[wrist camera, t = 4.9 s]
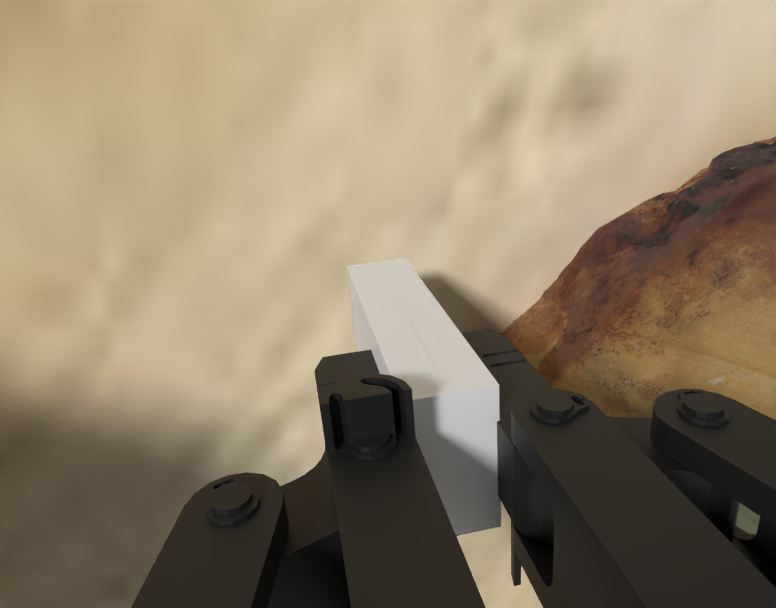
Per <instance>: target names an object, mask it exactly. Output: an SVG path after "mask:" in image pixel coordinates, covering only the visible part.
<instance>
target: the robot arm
mask: <svg viewBox="0 0 776 608" xmlns="http://www.w3.org/2000/svg"><path fill="white" fill-rule="evenodd" d="M347 274H348V283H349V292H350V300H351V309H352V317H353V326H354V334H355V343H356V351H357V352H353V353H346V354H340V355H334V356H328V357H323V358H322V359H321V361H320V363H319V364H318V366H317V368H316V369H315V378H316V384H317V391H318V398H319V404H320V411H321V418H322V424H323V431H324V438H325V452H324V454H323V456H322V459H321V460H320V461H319V462H318V464H317V465H316V466H315V467H314V468H313V469H311V470H310V471H309V472H308V473H306V474H305V475H303V476H301V477H300V478H298V479H296V480H294V481H292V482H290V483H287V484H285V485H283V486H279V484H278V483H277V481H276V480H274V479H272V478H270V477H268V476H266V475H264V474H256V473H241V474H235V475H228V476H226V477H223V478H221V479H218V480H216V481H213V482H211V483H209V484H208V485H206V486H205V487H203V488H202V489H201V490H199V491H198V492H196V493H195V494H194V495H193V496H192V498H191V499H190V500H189V501H188V503H187V504H186V505H185V506H184V508H183V510H182V512H181V514H180V516H179V518H178V519H177V521H176V523H175V525H174V527H173V529H172V531H171V533H170V535H169V537H168V538H167V540H166V542H165V544H164V546H163V548H162V550H161V552H160V554H159V556H158V558H157V559H156V561H155V563H154V565H153V567H152V569H151V571H150V573H149V575H148V577H147V578H146V580H145V582H144V584H143V586H142V588H141V590H140V592H139V594H138V596H137V598H136V599H135V601H134V603H133V605H132V607H131V608H485V605H484V603H483V601H482V598H481V596H480V593H479V591H478V588H477V586H476V583H475V581H474V579H473V576H472V574H471V571H470V569H469V566H468V564H467V561H466V559H465V557H464V554H463V552H462V549H461V547H460V544H459V542H458V539H457V537H456V536H458V535H462V534H467V533H472V532H476V531H481V530H486V529H491V528H495V527H500V526H501V501H502V503H503V505H504V507H505V509H506V510H507V512H508V514H509V516H510V518H511V575H512V579H513V583H514V586H516V585H521V566H522V567H523V569H524V571H525V573H526V575H527V577H528V578H529V581H530V582H531V584H532V586H533V588H534V590H535V592H536V594H537V596H538V598H539V600H540V602H541V604H542V606H543V608H776V420H774V419H772V418H770V417H768V416H766V415H764V414H762V413H760V412H758V411H756V410H754V409H752V408H750V407H748V406H746V405H744V404H742V403H740V402H738V401H736V400H734V399H731V398H729V397H726V396H723V395H721V394H718V393H714V392H709V391H704V390H702V389H678V390H674V391H669V392H665V393H664V394H662V395H660V396H659V397H657V398H656V400H655V403H654V406H653V412H652V418H637V417H610V416H607V415H606V414H605V413H604V412H603V411H602V410H601V409H600V408H599V407H598V406H597V405H596V404H595V403H593V402H592V401H591V400H589V399H588V398H586V397H585V396H583V395H580V394H577V393H575V392H572V391H569V390H561V389H554V388H553V387H552V386H551V385H550V384H549V383H548V382H547V381H546V380H545V379H544V377H543V376H542V375H541V374H540V373H539V372H538V371H537V370H536V369H535V368H534V366H533V365H532V364H531V363H530V362H529V361H528V362H527V359H526V358H525V356H524V355H523V354H522V353H521V352H518V349H517V348H516V346H515V345H514V344H513V343H512V342H511V341H510V340H509V339H508V338H507V337H505V336H503V335H501V334H499V333H497V332H495V331H493V330H490V329H484V330H478V331H472V332H465V333H460V331H459V330H458V328H457V327H456V326H455V324H454V323H453V322H452V320H451V319H450V318H449V316H448V315H447V314H446V312H445V311H444V310H443V308H442V307H441V305H440V304H439V303H438V301H437V300H436V299H435V297H434V296H433V295H432V293H431V292H430V291H429V289H428V288H427V287H426V285H425V284H424V283H423V281H422V280H421V278H420V277H419V276H418V274H417V273H416V272H415V270H414V269H413V268H412V266H411V265H410V264H409V262H408V261H407V260H406V258H400V259H393V260H385V261H378V262H371V263H364V264H357V265H350V266H347ZM740 503H741V504H742V505H744V506H745V507H747V508H748V509H750V510H751V511H753V512H754V513H756V514H757V515H759V516H760V520H759V524H758V529H757V533H756V535H755V534H749V533H747V532H746V531H744V530H742V529H740V528H739V527H737V526H736V522H737V517H738V511H739V506H740Z"/></svg>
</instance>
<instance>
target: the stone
mask: <svg viewBox="0 0 776 608" xmlns="http://www.w3.org/2000/svg"><path fill="white" fill-rule="evenodd" d="M501 335H503V336H505V337H507V338H508V339H509V340H510V341H511V342H512V343H513V344H514V345H515V346H516V348H517V349H518V352H521V353H522V354H523V355H524V356H525V358H526V359H527V362H528V361H529V362H530V363H531V364H532V365H533V366H534V368H535V369H536V370H537V371H538V372H539V373H540V374H541V375H542V376H543V377H544V379H545V380H546V381H547V382H548V383H549V384H550V385H551V386H552V387H553V388H554V389H561V390H569V391H572V392H575V393H577V394H580V395H583V396H585V397H586V398H588V399H589V400H591V401H592V402H593V403H595V404H596V405H597V406H598V407H599V408H600V409H601V410H602V411H603V412H604V413H605V414H606V415H607V416H610V417H637V418H652V412H653V406H654V403H655V400H656V398H657V397H659V396H660V395H662V394H664V393H665V392H669V391H674V390H678V389H702V390H704V391H709V392H714V393H718V394H721V395H723V396H726V397H729V398H731V399H734V400H736V401H738V402H740V403H742V404H744V405H746V406H748V407H750V408H752V409H754V410H756V411H758V412H760V413H762V414H764V415H766V416H768V417H770V418H772V419H774V420H776V137H774V138H772V139H769V140H763V141H758V142H754V143H753V144H750V145H746V146H741V147H737V148H734V149H731V150H729V151H726V152H723V153H722V154H720V155H718V156H717V157H715V158H714V159H713V160H712V162H711V163H710V165H709V167H708V168H706V169H703V170H701V171H700V172H699V173H697V174H696V175H695V176H694V177H692V178H691V179H690V180H689V181H687V182H686V183H685V184H684V185H682V186H681V187H680V188H679V189H677V190H676V191H673V192H667V193H662V194H660V195H658V196H656V197H654V198H651V199H649V200H647V201H645V202H643V203H642V204H640V205H638V206H637V207H635V208H633V209H631V210H630V211H628V212H626V213H625V214H623V215H621V216H619V217H618V218H616V219H614V220H612V221H611V222H609V223H607V224H606V225H604V226H602V227H600V228H599V229H598V230H596V232H595V233H594V234H593V235H592V236H591V237H590V238H589V240H588V241H587V242H586V243H585V244H584V245H583V246H582V247H581V248H580V250H579V251H578V253H577V254H576V256H575V257H574V259H573V260H572V261H571V262H570V263H569V264H568V266H567V267H566V268H565V269H564V270H563V271H562V272H561V274H560V275H559V277H558V279H557V280H556V281H555V282H554V283H553V284H552V285H551V286H550V287H549V288H548V289H547V290H545V292H544V294H543V295H542V297H541V298H540V300H538V301H537V302H536V303H535V304H534V305H533V306H532V307H531V308H530V309H529V310H527V311H526V312H525V313H524V314H522V315H521V316H520V317H519V318H517V319H516V320H515V321H514V322H513V323H512V324H511V325H510V326H509V327H508V328H507V329H506V330H505V331H504V332H503V333H502V334H501Z"/></svg>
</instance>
